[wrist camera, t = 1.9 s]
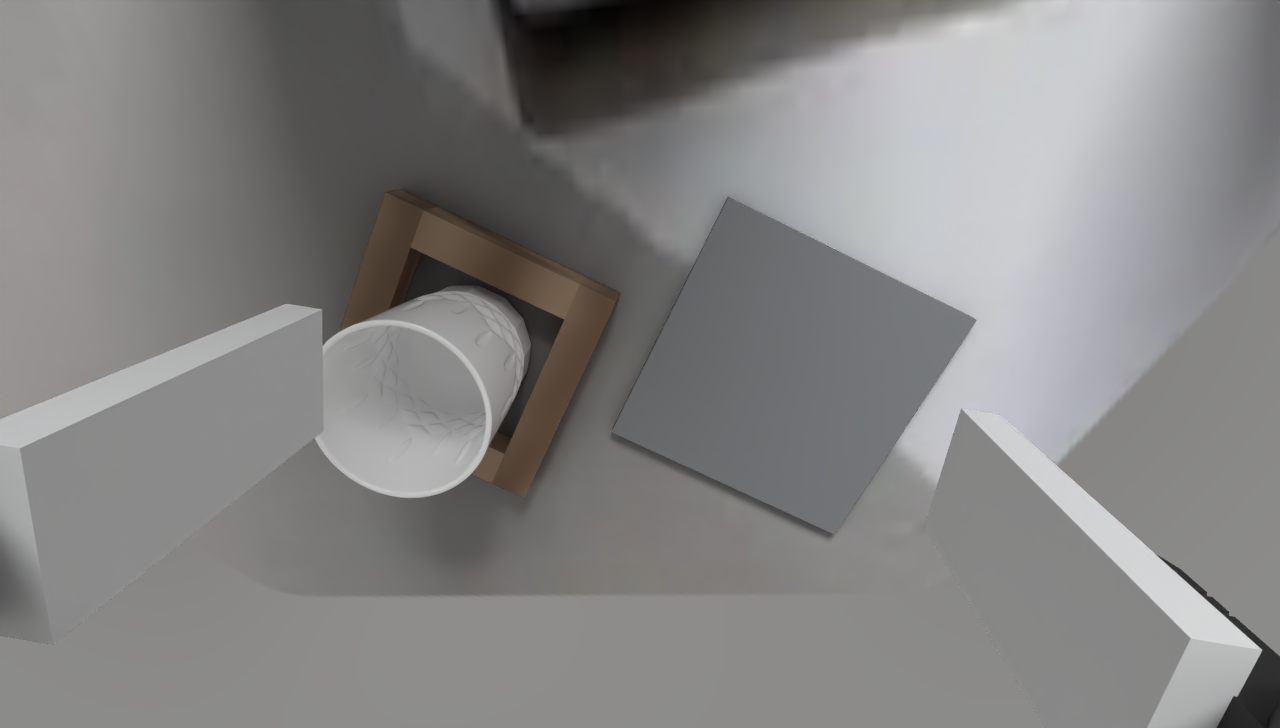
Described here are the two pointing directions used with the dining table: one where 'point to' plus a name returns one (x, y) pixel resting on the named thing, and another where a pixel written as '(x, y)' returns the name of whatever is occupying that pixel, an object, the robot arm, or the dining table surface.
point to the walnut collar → (511, 269)
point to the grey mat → (788, 368)
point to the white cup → (422, 390)
